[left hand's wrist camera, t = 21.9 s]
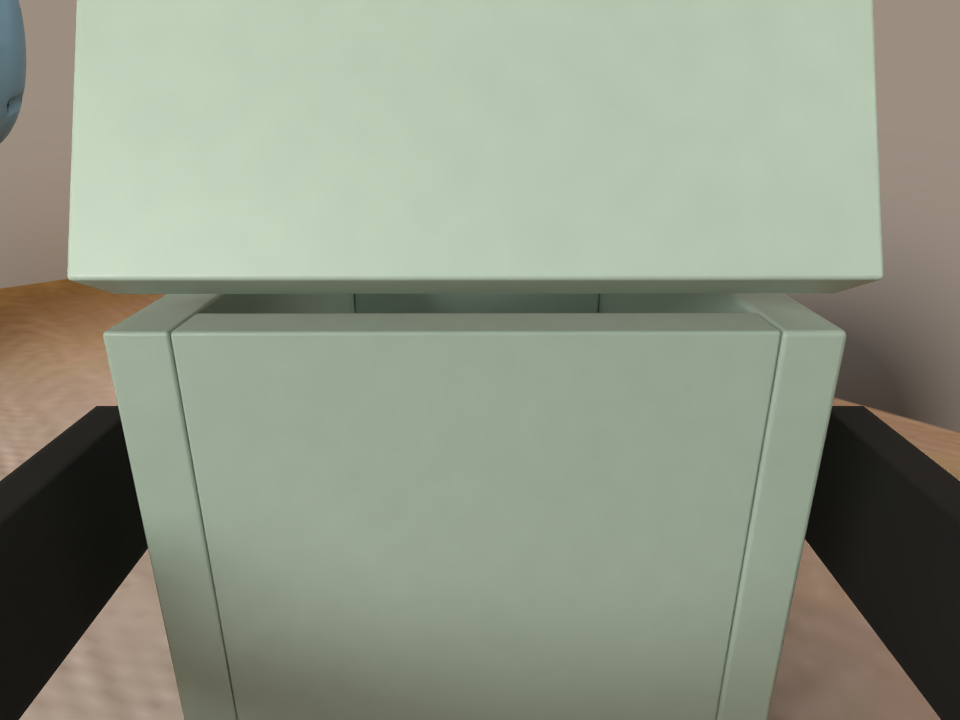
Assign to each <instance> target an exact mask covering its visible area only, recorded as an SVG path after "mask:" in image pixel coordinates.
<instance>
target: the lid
mask: <svg viewBox="0 0 960 720" xmlns="http://www.w3.org/2000/svg"><path fill="white" fill-rule="evenodd" d="M67 276H68V279H69V280H71V281H74V282H77V283H80V284H84V285H87V286H91V287H94V288H98V289H101V290H104V291H108V292H111V293H115V294H593V293H838V292H841V291H844V290H848V289H851V288H854V287H858V286H861V285H865V284H868V283H871V282H875V281H878V280H880V279H882V277H883V253H882V226H881V200H880V173H879V147H878V121H877V95H876V68H875V42H874V17H873V0H77V19H76V48H75V75H74V103H73V131H72V159H71V188H70V215H69V243H68V271H67Z"/></svg>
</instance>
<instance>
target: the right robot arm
mask: <svg viewBox="0 0 960 720" xmlns="http://www.w3.org/2000/svg"><path fill="white" fill-rule="evenodd" d="M25 78H26V44H25V33H24V25H23V19H22V13H21V8H20V4H19V0H0V143H1V142H2V141H3V140H4V139H5V138H6V137H7V136H8V134H9V133H10V131H11V130H12V128H13V126H14V124H15V122H16V120H17V117H18V114H19V111H20V107H21V103H22V96H23V92H24V87H25Z"/></svg>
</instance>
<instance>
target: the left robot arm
mask: <svg viewBox="0 0 960 720" xmlns="http://www.w3.org/2000/svg"><path fill="white" fill-rule="evenodd" d="M805 539H806V541H807V542H808V543H809V545H810V546H811V547H812V549H813V550H814V551H815V553H816V554H817V555H818V557H819V558H820V559H821V561H822V562H823V563H824V565H825V566H826V567H827V569H828V570H829V571H830V573H831V574H832V575H833V577H834V578H835V579H836V581H837V582H838V583H839V585H840V586H841V587H842V589H843V590H844V591H845V592H846V594H847V595H848V596H849V598H850V599H851V600H852V602H853V603H854V604H855V606H856V607H857V608H858V610H859V611H860V612H861V614H862V615H863V616H864V618H865V619H866V620H867V622H868V623H869V624H870V626H871V627H872V628H873V630H874V631H875V632H876V634H877V635H878V636H879V638H880V639H881V640H882V642H883V643H884V644H885V646H886V647H887V648H888V650H889V651H890V652H891V654H892V655H893V656H894V658H895V659H896V660H897V662H898V663H899V664H900V666H901V667H902V668H903V670H904V671H905V672H906V674H907V675H908V676H909V677H910V679H911V680H912V681H913V683H914V684H915V685H916V687H917V688H918V689H919V691H920V692H921V693H922V695H923V696H924V697H925V699H926V700H927V701H928V703H929V704H930V705H931V707H932V708H933V709H934V711H935V712H936V713H937V715H938V716H939V717H940V719H941V720H960V481H959V480H957V479H956V478H955V477H954V476H952V475H951V474H950V473H948V472H947V471H946V470H945V469H943V468H942V467H941V466H939V465H938V464H937V463H936V462H934V461H933V460H932V459H930V458H929V457H928V456H927V455H925V454H924V453H923V452H921V451H920V450H919V449H918V448H916V447H915V446H914V445H912V444H911V443H910V442H909V441H907V440H906V439H905V438H904V437H902V436H901V435H900V434H898V433H897V432H896V431H895V430H893V429H892V428H891V427H889V426H888V425H887V424H886V423H884V422H883V421H882V420H880V419H879V418H878V417H877V416H875V415H874V414H873V413H871V412H870V411H869V410H868V409H866V408H865V407H864V406H832V409H831V414H830V419H829V424H828V428H827V433H826V438H825V443H824V448H823V453H822V457H821V462H820V467H819V472H818V477H817V482H816V487H815V491H814V496H813V501H812V506H811V511H810V516H809V520H808V525H807V530H806V535H805ZM147 549H148V545H147V540H146V535H145V530H144V526H143V521H142V516H141V512H140V507H139V502H138V497H137V493H136V488H135V483H134V479H133V474H132V469H131V464H130V460H129V455H128V450H127V446H126V441H125V436H124V431H123V427H122V422H121V417H120V413H119V408H118V406H96V407H95V408H94V409H92V410H91V411H90V412H89V413H87V414H86V415H85V416H83V417H82V418H81V419H80V420H78V421H77V422H76V423H74V424H73V425H72V426H71V427H69V428H68V429H67V430H65V431H64V432H63V433H62V434H60V435H59V436H58V437H57V438H55V439H54V440H53V441H51V442H50V443H49V444H48V445H46V446H45V447H44V448H42V449H41V450H40V451H39V452H37V453H36V454H35V455H33V456H32V457H31V458H30V459H28V460H27V461H26V462H24V463H23V464H22V465H21V466H19V467H18V468H17V469H15V470H14V471H13V472H12V473H10V474H9V475H8V476H7V477H5V478H4V479H3V480H1V481H0V720H19V719H20V717H21V716H22V715H23V713H24V712H25V711H26V709H27V708H28V707H29V705H30V704H31V703H32V701H33V700H34V699H35V697H36V696H37V695H38V693H39V692H40V691H41V689H42V688H43V687H44V685H45V684H46V683H47V681H48V680H49V679H50V678H51V676H52V675H53V674H54V672H55V671H56V670H57V668H58V667H59V666H60V664H61V663H62V662H63V660H64V659H65V658H66V656H67V655H68V654H69V652H70V651H71V650H72V648H73V647H74V646H75V644H76V643H77V642H78V640H79V639H80V638H81V636H82V635H83V634H84V632H85V631H86V630H87V628H88V627H89V626H90V624H91V623H92V622H93V620H94V619H95V618H96V616H97V615H98V614H99V612H100V611H101V610H102V608H103V607H104V606H105V604H106V603H107V602H108V600H109V599H110V598H111V596H112V595H113V594H114V593H115V591H116V590H117V589H118V587H119V586H120V585H121V583H122V582H123V581H124V579H125V578H126V577H127V575H128V574H129V573H130V571H131V570H132V569H133V567H134V566H135V565H136V563H137V562H138V561H139V559H140V558H141V557H142V555H143V554H144V553H145V551H146V550H147Z"/></svg>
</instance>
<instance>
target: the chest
mask: <svg viewBox="0 0 960 720" xmlns="http://www.w3.org/2000/svg"><path fill="white" fill-rule="evenodd" d="M103 337H104V342H105V346H106V351H107V356H108V361H109V365H110V370H111V375H112V379H113V384H114V389H115V394H116V398H117V403H118V408H119V413H120V417H121V422H122V427H123V431H124V436H125V441H126V446H127V450H128V455H129V460H130V464H131V469H132V474H133V479H134V483H135V488H136V493H137V497H138V502H139V507H140V512H141V516H142V521H143V526H144V530H145V535H146V540H147V545H148V549H149V554H150V559H151V563H152V568H153V573H154V578H155V582H156V587H157V592H158V596H159V601H160V606H161V611H162V615H163V620H164V625H165V630H166V634H167V639H168V644H169V648H170V653H171V658H172V663H173V667H174V672H175V677H176V681H177V686H178V691H179V696H180V700H181V705H182V710H183V714H184V719H185V720H767V719H768V714H769V709H770V705H771V700H772V695H773V690H774V685H775V680H776V675H777V671H778V666H779V661H780V656H781V651H782V646H783V642H784V637H785V632H786V627H787V622H788V617H789V612H790V608H791V603H792V598H793V593H794V588H795V583H796V579H797V574H798V569H799V564H800V559H801V554H802V550H803V545H804V540H805V535H806V530H807V525H808V520H809V516H810V511H811V506H812V501H813V496H814V491H815V487H816V482H817V477H818V472H819V467H820V462H821V457H822V453H823V448H824V443H825V438H826V433H827V428H828V424H829V419H830V414H831V409H832V404H833V399H834V394H835V390H836V385H837V380H838V375H839V370H840V365H841V360H842V356H843V351H844V346H845V341H846V333H845V331H844V330H842V329H840V328H839V327H837V326H836V325H834V324H832V323H831V322H829V321H827V320H826V319H824V318H822V317H821V316H819V315H817V314H816V313H814V312H813V311H811V310H809V309H808V308H806V307H804V306H803V305H801V304H799V303H798V302H796V301H795V300H793V299H791V298H790V297H788V296H786V295H785V294H783V293H593V294H166V295H165V296H163V297H162V298H160V299H158V300H157V301H155V302H153V303H152V304H150V305H148V306H147V307H145V308H143V309H142V310H140V311H138V312H137V313H135V314H133V315H132V316H130V317H128V318H127V319H125V320H123V321H122V322H120V323H118V324H117V325H115V326H114V327H112V328H110V329H109V330H107V331H105V332H104V334H103Z"/></svg>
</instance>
